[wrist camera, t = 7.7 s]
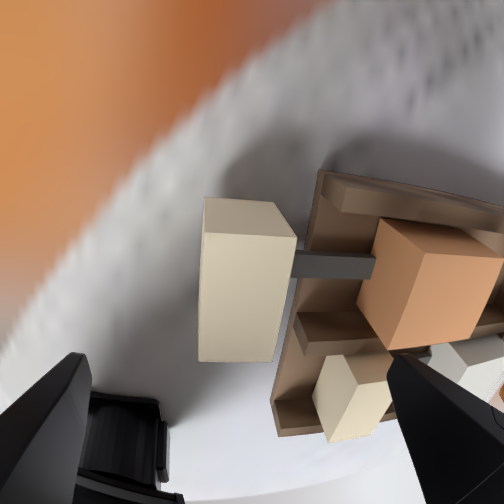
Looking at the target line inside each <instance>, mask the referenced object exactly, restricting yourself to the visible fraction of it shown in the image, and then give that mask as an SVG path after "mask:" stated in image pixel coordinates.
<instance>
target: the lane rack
mask: <svg viewBox="0 0 504 504" xmlns="http://www.w3.org/2000/svg"><path fill="white" fill-rule="evenodd" d="M380 218H383V219H391V220H399V221H407V222H415V223H423V224H430V225H438V226H445V227H452V228H459V229H461V230H463V231H464V232H466V233H468V234H469V235H471V236H472V237H474V238H475V239H477V240H478V241H480V242H481V243H483V244H484V245H486V246H487V247H489V248H490V249H491V250H493V251H494V252H496V253H497V254H499V255H500V256H501V257H503V258H504V207H502V206H498V205H494V204H491V203H487V202H483V201H479V200H475V199H471V198H467V197H463V196H458V195H454V194H450V193H445V192H441V191H436V190H432V189H427V188H422V187H417V186H413V185H407V184H402V183H397V182H392V181H386V180H381V179H375V178H369V177H363V176H357V175H351V174H344V173H338V172H331V171H324V170H319V171H318V177H317V182H316V188H315V194H314V199H313V205H312V210H311V216H310V221H309V226H308V232H307V237H306V242H305V247H304V250H307V251H325V252H343V253H361V254H371V251H372V248H373V244H374V240H375V236H376V233H377V229H378V225H379V221H380ZM362 282H363V279H323V278H298V281H297V286H296V291H295V295H294V300H293V305H292V309H291V314H290V318H289V323H288V327H287V331H286V336H285V340H284V344H283V349H282V353H281V357H280V361H279V365H278V369H277V374H276V378H275V382H274V386H273V390H272V393H271V397H270V404H271V408H272V412H273V417H274V421H275V425H276V429H277V434H278V437H285V436H296V435H305V434H313V433H321V432H324V430H323V427H322V424H321V422H320V419H319V416H318V413H317V410H316V407H315V405H314V402H313V399H312V394H313V392H314V389H315V386H316V384H317V381H318V378H319V375H320V373H321V370H322V367H323V364H324V361H325V359H326V356H332V355H346V354H358V353H369V352H379V351H389V353H390V354H391V356H392V357H395V356H396V355H397V354H403V353H409V354H411V355H413V354H420V353H426V352H427V351H428V349H429V348H430V346H431V345H426V346H418V347H411V348H403V349H394V350H387V349H386V348H385V346H384V345H383V343H382V341H381V340H380V338H379V337H378V335H377V334H376V332H375V331H374V329H373V328H372V326H371V325H370V323H369V322H368V321H367V319H366V318H365V316H364V315H363V313H362V312H361V310H360V309H359V307H358V306H357V304H356V302H357V298H358V295H359V292H360V289H361V286H362ZM492 334H497V335H498V336H499V337H500V338H501V339H502V340H503V341H504V262H503V265H502V267H501V270H500V272H499V275H498V277H497V280H496V282H495V285H494V287H493V289H492V292H491V294H490V296H489V299H488V301H487V303H486V305H485V307H484V310H483V312H482V314H481V316H480V318H479V320H478V322H477V324H476V326H475V328H474V330H473V332H472V334H471V336H470V338H469V339H471V338H477V337H482V336H487V335H492ZM464 340H466V339H464ZM458 341H460V340H458ZM452 342H454V341H452ZM446 343H448V342H446ZM439 344H442V343H439ZM433 345H435V344H433ZM393 419H397V416H396V413H395V409H394V405H393V401H392V402H391V404H390V405H389V407H388V409H387V410H386V412H385V413H384V415H383V417H382V418H381V420H380V421H379V422H384V421H389V420H393Z"/></svg>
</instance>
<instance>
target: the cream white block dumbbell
mask: <svg viewBox="0 0 504 504" xmlns="http://www.w3.org/2000/svg"><path fill="white" fill-rule="evenodd" d="M412 356H414V357H415V358H417V359H419V360H420V361H422V362H423V363H425V364H426V365H428V366H430V367H431V368H433V369H434V370H436V371H438V372H439V373H441V374H442V375H444V376H445V377H447V378H449V379H450V380H452V381H453V382H455V383H456V384H458V385H460V386H461V387H463V388H464V389H466V390H467V391H469V392H471V393H472V394H474V395H475V396H477V397H479V398H480V399H482V400H484V399H485V397H486V396H487V395H488V393H489V392H490V390H491V389H492V388H493V386H494V385H495V383H496V382H497V380H498V379H499V377H500V376H501V374H502V373H503V371H504V341H503V340H502V339H501V338H500V337H499V336H498V335H497V334H492V335H487V336H482V337H477V338H471V339H466V340H460V341H454V342H448V343H442V344H435V345H431V346H430V348H429V349H428V351H427V352H426V353H420V354H413V355H412ZM394 358H395V357H392V356H391V354H390V353H389V351H379V352H369V353H358V354H346V355H332V356H326V359H325V361H324V364H323V367H322V370H321V373H320V375H319V378H318V381H317V384H316V386H315V389H314V392H313V394H312V399H313V402H314V405H315V407H316V410H317V413H318V416H319V419H320V422H321V424H322V427H323V430H324V433H325V436H326V439H327V442H328V443H331V442H337V441H343V440H348V439H354V438H359V437H364V436H369V435H371V433H372V432H373V430H374V429H375V427H376V426H377V424H378V423H379V421H380V420H381V418H382V417H383V415H384V413H385V412H386V410H387V409H388V407H389V405H390V404H391V402H392V398H391V394H390V390H389V387H388V383H387V378H386V375H387V372H388V369H389V368H390V366H391V364H392V361H393V359H394Z"/></svg>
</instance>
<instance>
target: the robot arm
mask: <svg viewBox="0 0 504 504" xmlns="http://www.w3.org/2000/svg"><path fill="white" fill-rule="evenodd" d="M386 378H387V383H388V387H389V390H390V394H391V398H392V401H393V405H394V409H395V413H396V416H397V420H398V423H399V425H400V428H401V431H402V434H403V436H404V439H405V442H406V445H407V448H408V450H409V453H410V456H411V459H412V462H413V465H414V468H415V470H416V474H417V477H418V480H419V483H420V486H421V489H422V492H423V495H424V498H425V502H426V504H504V413H502V412H501V411H499V410H498V409H496V408H494V407H493V406H490V404H488V403H486V402H485V401H483V400H482V399H480V398H479V397H477V396H475V395H474V394H472V393H471V392H469V391H467V390H466V389H464V388H463V387H461V386H460V385H458V384H456V383H455V382H453V381H452V380H450V379H449V378H447V377H445V376H444V375H442V374H441V373H439V372H438V371H436V370H434V369H433V368H431V367H430V366H428V365H426V364H425V363H423V362H422V361H420V360H419V359H417V358H415V357H414V356H412V355H411V354H409V353H403V354H397V355H396V356H395V358H394V359H393V361H392V364H391V366H390V368H389V369H388V372H387V375H386ZM91 384H92V375H91V371H90V368H89V364H88V360H87V357H86V355H85V354H83V353H76V352H71V353H69V354H68V355H67V356H66V357H65V358H64V359H62V360H61V361H60V362H59V363H58V364H57V365H55V366H54V367H53V368H52V369H51V370H50V371H49V372H47V373H46V374H45V375H44V376H43V377H42V378H41V379H40V380H38V381H37V382H36V383H35V384H34V385H33V386H32V387H30V388H29V389H28V390H27V391H26V392H25V393H24V394H23V395H22V396H20V397H19V398H18V399H17V400H16V401H15V402H14V403H13V404H12V405H11V406H9V407H8V408H7V409H6V410H5V411H4V412H3V413H2V414H1V415H0V504H185V502H184V498H183V494H179V493H168V492H163V491H161V482H162V483H167V482H168V481H169V449H170V438H169V430H168V423H167V422H166V421H162V416H161V409H160V403H159V402H158V401H157V400H155V399H146V398H134V397H124V396H115V395H106V394H98V393H91V392H90V391H91Z"/></svg>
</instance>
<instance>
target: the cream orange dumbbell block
mask: <svg viewBox="0 0 504 504" xmlns="http://www.w3.org/2000/svg"><path fill="white" fill-rule="evenodd" d="M296 243H297V236H296V235H295V233H294V232H293V230H292V229H291V227H290V226H289V224H288V223H287V221H286V220H285V218H284V217H283V215H282V214H281V212H280V211H279V209H278V208H277V206H276V205H275V203H274V202H265V201H253V200H239V199H225V198H209V197H205V198H204V211H203V226H202V241H201V258H200V278H199V300H198V361H199V362H272V361H273V356H274V352H275V347H276V342H277V338H278V333H279V328H280V324H281V319H282V314H283V309H284V304H285V299H286V295H287V290H288V285H289V279H290V278H323V279H363V282H362V286H361V289H360V292H359V295H358V298H357V302H356V304H357V306H358V307H359V309H360V310H361V312H362V313H363V315H364V316H365V318H366V319H367V321H368V322H369V323H370V325H371V326H372V328H373V329H374V331H375V332H376V334H377V335H378V337H379V338H380V340H381V341H382V343H383V345H384V346H385V348H386V349H387V350H394V349H403V348H411V347H418V346H426V345H433V344H439V343H446V342H452V341H458V340H464V339H469V338H470V336H471V334H472V332H473V330H474V328H475V326H476V324H477V322H478V320H479V318H480V316H481V314H482V312H483V310H484V307H485V305H486V303H487V301H488V299H489V296H490V294H491V292H492V289H493V287H494V285H495V282H496V280H497V277H498V275H499V272H500V270H501V267H502V265H503V262H504V258H503V257H501V256H500V255H499V254H497V253H496V252H494V251H493V250H491V249H490V248H489V247H487V246H486V245H484V244H483V243H481V242H480V241H478V240H477V239H475V238H474V237H472V236H471V235H469V234H468V233H466V232H464V231H463V230H461V229H459V228H452V227H445V226H438V225H430V224H423V223H415V222H407V221H399V220H391V219H383V218H380V221H379V225H378V229H377V233H376V236H375V240H374V244H373V248H372V251H371V254H361V253H343V252H325V251H307V250H295V248H296Z"/></svg>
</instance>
